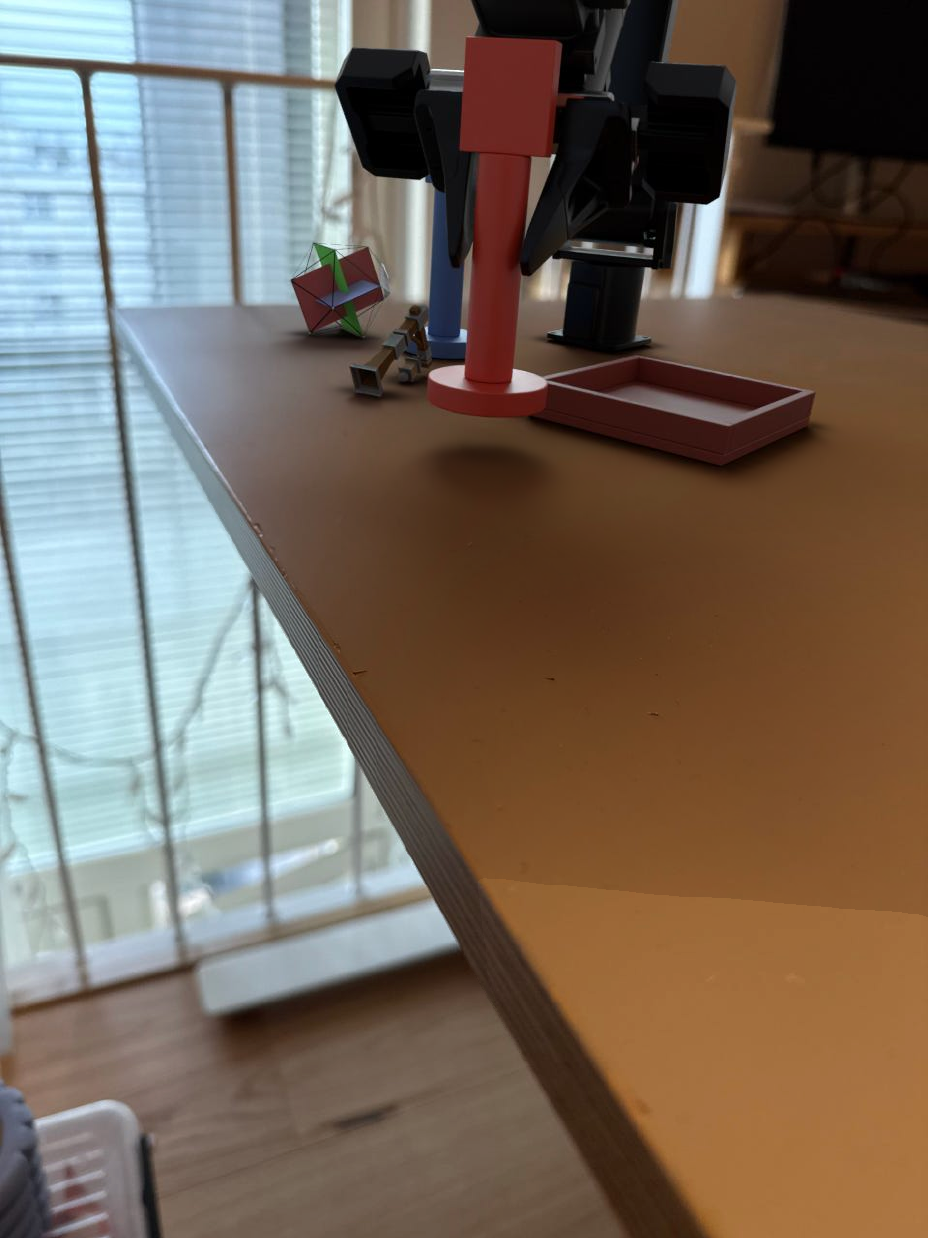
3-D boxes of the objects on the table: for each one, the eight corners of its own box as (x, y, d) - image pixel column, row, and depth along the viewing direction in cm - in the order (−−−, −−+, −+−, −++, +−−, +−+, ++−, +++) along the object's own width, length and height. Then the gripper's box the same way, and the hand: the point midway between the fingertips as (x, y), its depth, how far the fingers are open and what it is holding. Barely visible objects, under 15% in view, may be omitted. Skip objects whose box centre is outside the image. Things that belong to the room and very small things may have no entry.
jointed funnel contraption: (446, 358, 62) (436, 296, 58) (388, 430, 57) (374, 367, 54) (422, 354, 62) (411, 293, 59) (363, 425, 58) (348, 363, 55)
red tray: (631, 386, 63) (636, 354, 62) (808, 426, 56) (816, 391, 55) (527, 415, 54) (530, 378, 53) (721, 466, 47) (729, 426, 46)
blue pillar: (438, 339, 73) (450, 113, 66) (499, 353, 70) (518, 117, 62) (385, 347, 69) (392, 107, 61) (448, 362, 65) (462, 110, 58)
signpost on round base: (449, 382, 50) (468, 44, 43) (557, 397, 49) (596, 49, 41) (409, 406, 45) (424, 27, 38) (529, 424, 43) (567, 33, 36)
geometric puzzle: (289, 313, 66) (352, 218, 66) (257, 297, 72) (315, 209, 71) (361, 370, 71) (421, 282, 70) (326, 351, 76) (382, 269, 76)
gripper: (352, -161, 42) (237, 105, 37) (780, -166, 37) (707, 137, 33) (408, 59, 52) (323, 288, 48) (748, 77, 48) (689, 331, 43)
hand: (488, 265), depth 43 cm, fingers closed on signpost on round base, 3 cm apart
